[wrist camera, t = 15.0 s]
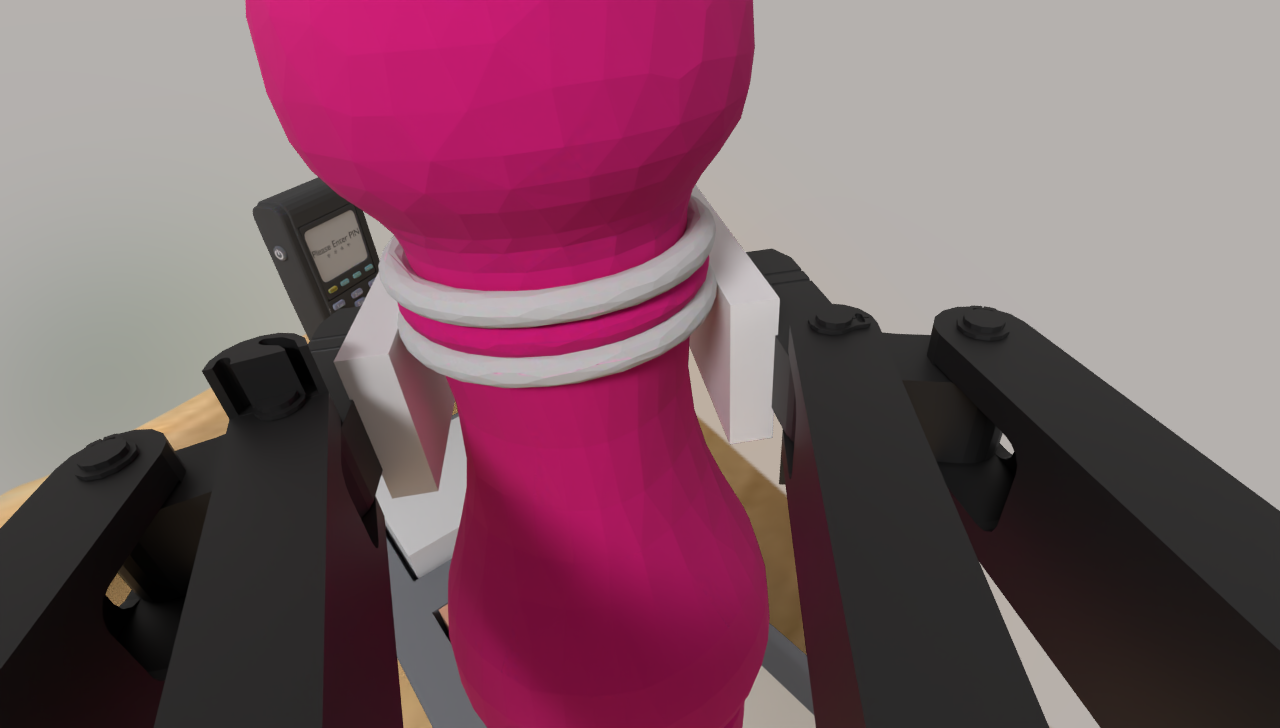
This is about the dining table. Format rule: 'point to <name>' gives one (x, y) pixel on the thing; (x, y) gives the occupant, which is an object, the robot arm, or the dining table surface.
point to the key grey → (429, 512)
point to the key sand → (774, 706)
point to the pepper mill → (553, 324)
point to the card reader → (318, 250)
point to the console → (435, 665)
